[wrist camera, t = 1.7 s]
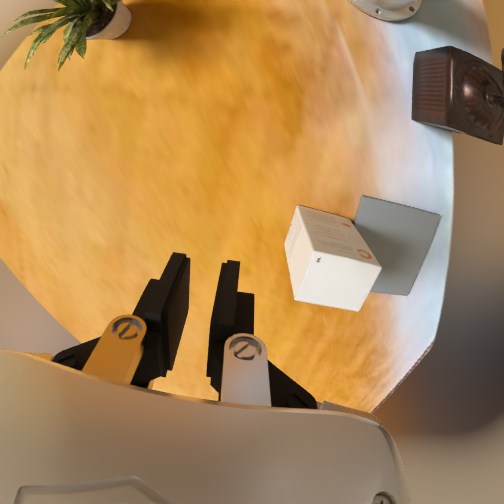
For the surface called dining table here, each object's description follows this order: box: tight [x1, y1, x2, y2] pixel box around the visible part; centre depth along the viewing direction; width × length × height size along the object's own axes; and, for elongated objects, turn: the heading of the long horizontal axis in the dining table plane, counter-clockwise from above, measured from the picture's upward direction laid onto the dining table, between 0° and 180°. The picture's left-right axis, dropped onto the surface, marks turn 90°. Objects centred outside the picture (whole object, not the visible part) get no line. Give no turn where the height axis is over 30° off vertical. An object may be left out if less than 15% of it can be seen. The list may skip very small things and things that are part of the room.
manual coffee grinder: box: [412, 46, 504, 145], centre depth 21 cm, size 16×11×18 cm
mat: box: [353, 195, 440, 296], centre depth 42 cm, size 15×14×1 cm
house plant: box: [3, 0, 132, 72], centre depth 19 cm, size 14×14×16 cm
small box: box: [284, 205, 382, 312], centre depth 35 cm, size 8×6×13 cm
